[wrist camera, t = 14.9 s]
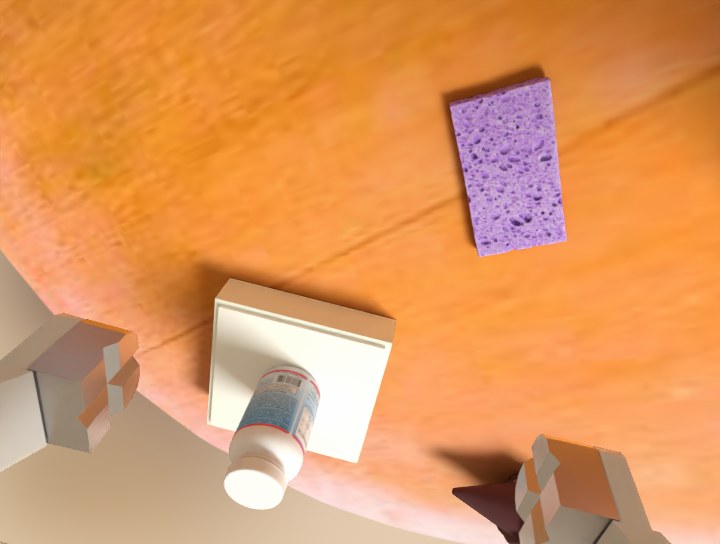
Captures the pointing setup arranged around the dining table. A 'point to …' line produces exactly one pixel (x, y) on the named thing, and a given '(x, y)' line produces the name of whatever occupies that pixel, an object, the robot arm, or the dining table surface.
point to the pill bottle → (272, 437)
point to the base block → (298, 359)
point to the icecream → (495, 506)
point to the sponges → (511, 166)
